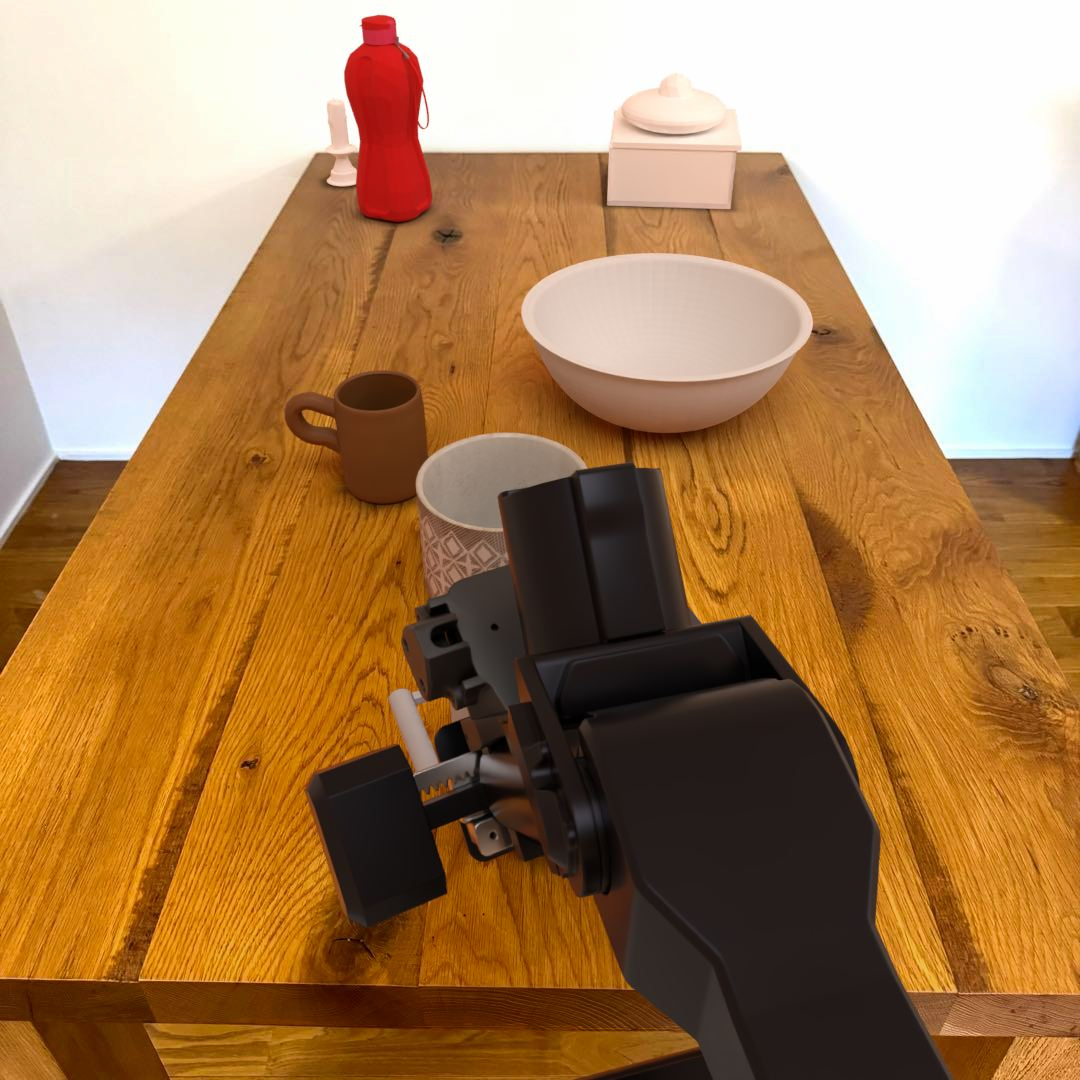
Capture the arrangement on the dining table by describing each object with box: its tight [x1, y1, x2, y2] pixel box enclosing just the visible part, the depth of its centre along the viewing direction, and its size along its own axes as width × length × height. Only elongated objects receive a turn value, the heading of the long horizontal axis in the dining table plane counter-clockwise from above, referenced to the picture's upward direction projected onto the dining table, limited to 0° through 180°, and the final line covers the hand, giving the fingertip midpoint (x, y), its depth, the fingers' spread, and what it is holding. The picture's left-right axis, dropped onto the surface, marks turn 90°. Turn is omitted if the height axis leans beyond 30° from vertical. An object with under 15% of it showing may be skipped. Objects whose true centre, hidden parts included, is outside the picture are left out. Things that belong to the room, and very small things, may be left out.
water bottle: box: [343, 14, 433, 223], centre depth 138 cm, size 9×11×25 cm
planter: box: [416, 432, 588, 599], centre depth 79 cm, size 13×13×10 cm
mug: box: [284, 369, 429, 505], centre depth 90 cm, size 12×8×9 cm, turn 90°
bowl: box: [520, 252, 814, 434], centre depth 101 cm, size 27×27×10 cm
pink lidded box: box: [606, 72, 742, 210], centre depth 149 cm, size 18×18×16 cm
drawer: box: [388, 688, 469, 772], centre depth 64 cm, size 17×10×7 cm, turn 112°
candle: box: [324, 97, 358, 188], centre depth 153 cm, size 5×5×12 cm
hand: (487, 763), depth 52 cm, fingers closed
